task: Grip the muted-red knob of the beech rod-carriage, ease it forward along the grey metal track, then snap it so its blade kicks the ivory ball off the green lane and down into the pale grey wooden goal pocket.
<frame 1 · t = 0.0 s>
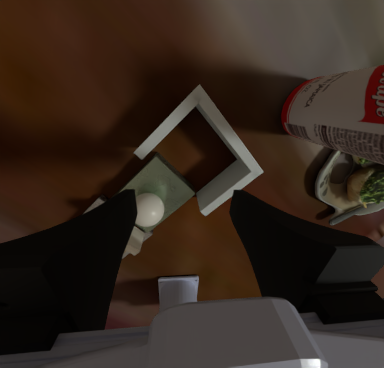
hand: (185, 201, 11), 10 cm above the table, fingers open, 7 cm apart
beer can: (301, 109, 19), on the table
salad plate: (372, 159, 24), on the table
ball: (147, 209, 19), point 4 cm above the table, touching track
carriage: (95, 253, 22), point 4 cm above the table, slide at 0.0 cm
goal: (196, 153, 20), on the table
track: (94, 245, 26), on the table
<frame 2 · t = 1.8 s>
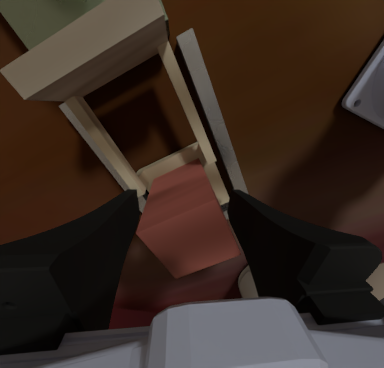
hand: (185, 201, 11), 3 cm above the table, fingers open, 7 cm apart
carriage: (165, 166, 9), point 4 cm above the table, slide at 0.0 cm, touching gripper
mug: (273, 269, 21), on the table
track: (185, 182, 14), on the table
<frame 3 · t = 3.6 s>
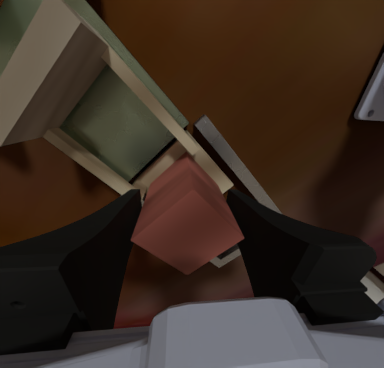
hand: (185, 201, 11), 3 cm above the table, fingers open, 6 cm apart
carriage: (150, 169, 9), point 4 cm above the table, slide at 6.1 cm, touching gripper
mug: (323, 265, 22), on the table
track: (223, 216, 16), on the table
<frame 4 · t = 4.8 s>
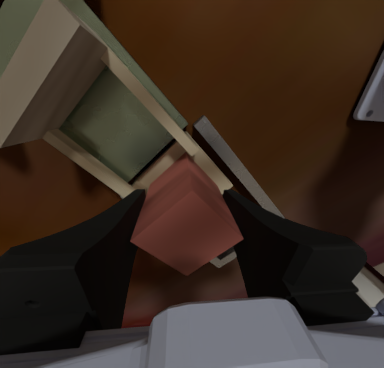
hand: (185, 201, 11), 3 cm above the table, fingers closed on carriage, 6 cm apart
carriage: (149, 170, 9), point 4 cm above the table, slide at 6.1 cm, touching gripper
mug: (323, 265, 22), on the table
track: (223, 217, 16), on the table
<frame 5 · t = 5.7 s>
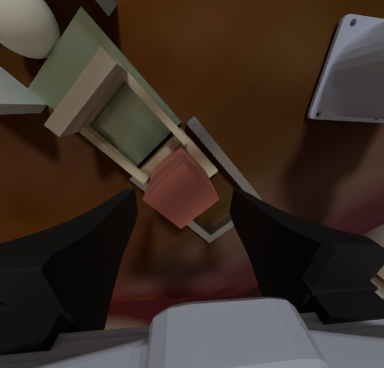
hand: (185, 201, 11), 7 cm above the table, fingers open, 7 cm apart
ball: (20, 19, 10), point 2 cm above the table, tilted 147°
carriage: (154, 155, 13), point 4 cm above the table, slide at 6.0 cm
goal: (23, 13, 11), on the table
track: (211, 198, 20), on the table
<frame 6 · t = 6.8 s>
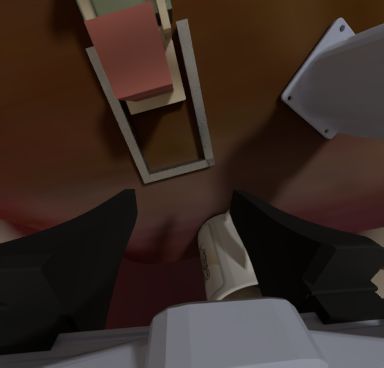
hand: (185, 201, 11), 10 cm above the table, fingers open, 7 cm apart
carriage: (125, 13, 11), point 4 cm above the table, slide at 6.0 cm
mug: (227, 229, 27), on the table
track: (167, 134, 19), on the table
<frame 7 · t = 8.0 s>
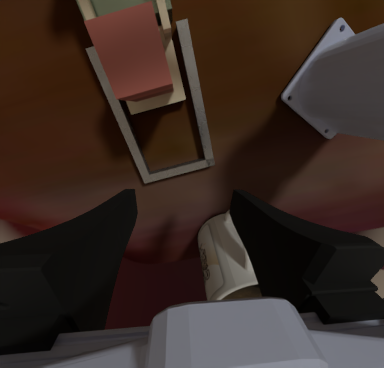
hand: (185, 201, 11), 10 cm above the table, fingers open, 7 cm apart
carriage: (125, 13, 11), point 4 cm above the table, slide at 6.0 cm
mug: (227, 229, 27), on the table
track: (167, 134, 19), on the table
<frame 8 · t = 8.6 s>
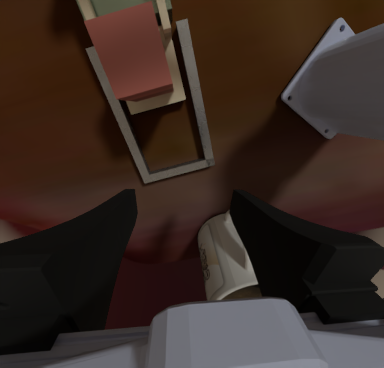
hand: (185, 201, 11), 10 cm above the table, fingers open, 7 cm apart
carriage: (125, 13, 11), point 4 cm above the table, slide at 6.0 cm
mug: (227, 229, 27), on the table
track: (167, 134, 19), on the table
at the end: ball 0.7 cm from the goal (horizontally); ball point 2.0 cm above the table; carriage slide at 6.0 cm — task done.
